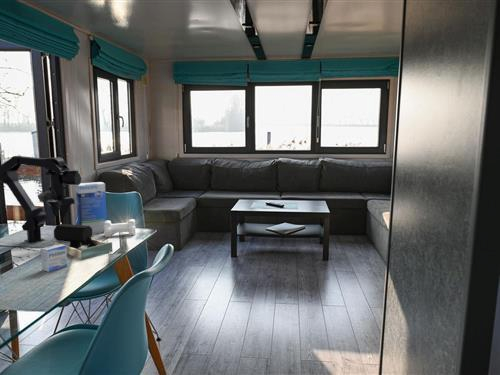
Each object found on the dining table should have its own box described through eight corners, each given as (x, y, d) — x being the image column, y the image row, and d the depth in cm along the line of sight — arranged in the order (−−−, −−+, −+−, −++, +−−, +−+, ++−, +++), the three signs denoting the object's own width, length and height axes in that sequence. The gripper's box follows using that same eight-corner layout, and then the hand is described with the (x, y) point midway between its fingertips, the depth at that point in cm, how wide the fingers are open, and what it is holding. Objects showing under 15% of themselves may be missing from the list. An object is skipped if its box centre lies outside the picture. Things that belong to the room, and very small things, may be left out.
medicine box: (48, 272, 145) (46, 250, 144) (41, 270, 147) (40, 248, 146) (67, 266, 151) (66, 245, 150) (61, 264, 154) (59, 243, 152)
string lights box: (104, 229, 207) (102, 181, 204) (107, 232, 201) (105, 183, 197) (77, 232, 200) (75, 183, 196) (80, 235, 194) (78, 185, 190)
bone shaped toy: (135, 233, 203) (134, 218, 202) (135, 236, 194) (135, 220, 194) (104, 235, 198) (104, 219, 198) (104, 238, 190) (103, 221, 189)
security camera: (89, 251, 170) (88, 229, 169) (53, 248, 174) (51, 226, 172) (99, 246, 177) (98, 225, 176) (63, 243, 181) (62, 222, 179)
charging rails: (53, 248, 173) (52, 239, 173) (82, 241, 185) (82, 233, 184) (82, 259, 159) (82, 250, 159) (112, 251, 171) (112, 242, 170)
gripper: (29, 184, 178) (32, 217, 180) (49, 188, 167) (52, 223, 169) (53, 182, 187) (55, 213, 189) (74, 185, 176) (76, 219, 178)
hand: (59, 217), depth 181 cm, fingers open, 6 cm apart
